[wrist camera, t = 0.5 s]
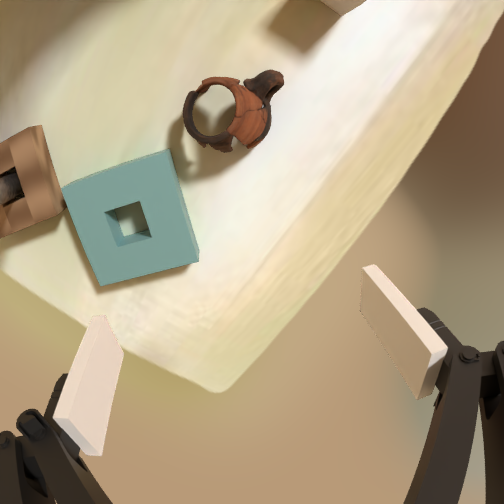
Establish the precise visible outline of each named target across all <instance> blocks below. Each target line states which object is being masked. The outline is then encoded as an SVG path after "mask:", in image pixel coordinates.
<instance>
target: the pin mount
mask: <svg viewBox="0 0 504 504" xmlns="http://www.w3.org/2000/svg"><path fill="white" fill-rule="evenodd" d="M15 167H16V170H17V174H18V177H19V180H20V183H21V186H22V189H23V192H24V195H25V196H23V197H21V198H19V199H17V200H15V197H14V198H12V199H11V200H9V201H7V202H6V203H4V204H2V205H1V206H0V238H2V237H5V236H7V235H9V234H12V233H14V232H16V231H19V230H21V229H24V228H26V227H29V226H31V225H33V224H36V223H38V222H41V221H44V220H46V219H49V218H51V217H54V216H57V215H58V214H59V213H60V212H62V211H63V210H64V209H65V208H67V206H66V203H65V200H64V197H63V194H62V191H61V188H60V186H59V183H58V179H57V176H56V173H55V170H54V167H53V164H52V160H51V157H50V154H49V150H48V147H47V143H46V139H45V136H44V132H43V128H42V125H38V126H33V127H28V128H26V129H25V130H23V131H21V132H19V133H17V134H16V135H14V136H12V137H10V138H9V139H7V140H5V141H3V142H2V143H0V178H2V177H4V176H7V172H8V171H10V170H11V169H13V168H15Z"/></svg>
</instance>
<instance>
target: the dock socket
mask: <svg viewBox="0 0 504 504" xmlns="http://www.w3.org/2000/svg"><path fill="white" fill-rule="evenodd" d="M61 190H62V193H63V196H64V198H65V201H66V204H67V207H68V210H69V212H70V215H71V218H72V220H73V223H74V225H75V228H76V231H77V233H78V236H79V238H80V241H81V243H82V245H83V248H84V250H85V253H86V255H87V257H88V260H89V262H90V264H91V266H92V269H93V271H94V273H95V275H96V278H97V280H98V282H99V284H100V286H104V285H108V284H112V283H116V282H120V281H124V280H128V279H132V278H136V277H140V276H143V275H147V274H151V273H155V272H159V271H163V270H167V269H171V268H175V267H179V266H183V265H187V264H191V263H195V262H199V247H198V244H197V241H196V238H195V234H194V231H193V228H192V225H191V221H190V218H189V215H188V211H187V208H186V204H185V201H184V198H183V194H182V191H181V187H180V184H179V180H178V177H177V173H176V170H175V166H174V162H173V159H172V155H171V152H170V149H167V150H163V151H160V152H157V153H153V154H150V155H147V156H144V157H141V158H138V159H134V160H131V161H128V162H125V163H122V164H119V165H117V166H114V167H111V168H108V169H105V170H102V171H100V172H97V173H94V174H91V175H89V176H86V177H83V178H81V179H78V180H76V181H73V182H71V183H69V184H68V185H66V186H64V187H63V188H61ZM138 201H140V203H141V206H142V209H143V212H144V215H145V218H146V221H147V224H148V227H149V230H146V231H142V232H139V233H135V234H132V235H129V236H125V237H124V236H123V233H122V231H121V228H120V225H119V223H118V220H117V217H116V214H115V211H114V209H115V208H118V207H122V206H125V205H128V204H131V203H135V202H138Z"/></svg>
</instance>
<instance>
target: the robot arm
mask: <svg viewBox="0 0 504 504" xmlns="http://www.w3.org/2000/svg"><path fill="white" fill-rule="evenodd" d="M360 312H361V313H362V315H363V316H364V318H365V319H366V320H367V322H368V324H369V325H370V327H371V328H372V330H373V331H374V333H375V334H376V336H377V338H378V339H379V341H380V342H381V344H382V345H383V347H384V348H385V350H386V351H387V353H388V355H389V356H390V358H391V359H392V361H393V362H394V364H395V366H396V367H397V369H398V370H399V372H400V374H401V375H402V377H403V378H404V380H405V382H406V383H407V385H408V387H409V388H410V390H411V391H412V393H413V395H414V396H415V398H416V400H419V399H421V398H423V397H426V396H428V395H431V394H432V392H433V389H434V387H435V385H436V387H437V388H438V390H439V394H438V396H437V399H436V401H435V403H434V406H435V409H434V413H433V417H432V421H431V425H430V428H429V432H428V435H427V439H426V442H425V446H424V449H423V452H422V455H421V458H420V461H419V464H418V467H417V470H416V473H415V475H414V478H413V481H412V483H411V486H410V489H409V491H408V494H407V496H406V499H405V501H404V504H458V501H459V497H460V494H461V490H462V487H463V483H464V479H465V475H466V471H467V467H468V463H469V458H470V453H471V448H472V443H473V438H474V432H475V426H476V419H477V412H478V404H479V406H480V413H481V421H482V430H483V441H484V455H485V474H486V475H485V476H486V504H504V341H501V342H500V343H498V345H497V347H496V349H495V351H490V352H479V351H478V350H477V349H475V348H474V347H471V346H463V345H462V344H461V343H460V342H459V341H458V340H457V338H456V337H455V336H454V335H453V334H452V333H451V332H450V330H449V329H448V328H447V327H445V325H444V324H443V322H442V321H440V319H439V318H438V317H437V316H436V315H435V314H434V313H433V312H432V311H430V310H428V309H426V308H421V309H417V310H416V309H415V308H414V307H413V306H412V304H411V303H410V302H409V301H408V300H407V299H406V298H405V297H404V295H403V294H402V293H401V292H400V291H399V290H398V289H397V288H396V286H395V285H394V284H393V283H392V282H391V281H390V280H389V279H388V278H387V277H386V276H385V274H383V272H382V271H381V270H380V269H379V268H378V267H377V266H376V265H370V266H366V267H362V278H361V302H360ZM123 356H124V353H123V351H122V349H121V347H120V345H119V343H118V341H117V339H116V337H115V335H114V333H113V330H112V328H111V326H110V324H109V322H108V320H107V317H106V315H99V316H93V317H92V319H91V321H90V323H89V326H88V328H87V330H86V332H85V335H84V337H83V339H82V342H81V344H80V347H79V349H78V351H77V354H76V356H75V359H74V361H73V364H72V366H71V369H70V371H69V373H68V374H63V375H62V376H61V377H60V378H59V379H58V381H57V382H56V385H55V387H54V392H52V395H51V398H50V400H49V403H48V406H47V409H46V412H45V414H44V417H43V416H42V415H41V414H40V413H39V412H38V410H36V409H28V410H26V411H24V412H23V413H22V414H21V415H20V416H19V417H18V419H17V422H16V427H17V429H18V430H19V431H20V432H21V433H22V434H23V436H19V437H15V435H13V433H12V432H10V431H3V432H1V433H0V504H56V502H57V504H113V503H112V502H111V501H110V499H109V498H108V497H107V495H106V494H105V493H104V491H103V490H102V488H101V487H100V485H99V484H98V482H97V481H96V480H95V478H94V477H93V475H92V473H91V472H90V470H89V469H88V467H87V466H86V464H85V463H84V461H83V460H82V458H81V457H80V456H79V451H80V449H81V450H82V451H83V452H84V453H85V454H86V455H91V456H102V452H103V446H104V441H105V436H106V430H107V425H108V421H109V416H110V411H111V406H112V402H113V398H114V393H115V389H116V384H117V380H118V377H119V372H120V368H121V364H122V360H123ZM54 498H55V499H54ZM55 500H56V502H55Z"/></svg>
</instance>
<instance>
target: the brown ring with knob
mask: <svg viewBox="0 0 504 504" xmlns="http://www.w3.org/2000/svg"><path fill="white" fill-rule="evenodd" d="M239 83H240V80H238V79H234V78H229V77H210V78H207V79H205V80H203V81H202V85H200V86H199V87H198V89H197V90H196V91H190V92H189V93H188V95H187V97H186V100H185V103H184V107H183V118H184V124H185V127H186V129H187V131H188V133H189V134H190V135H191V136H192V137H193V138H194V139H196V140H197V142H198V143H199V144H200V145H201V146H203V147H204V148H205V147H206V144H209V145H210V146H211V147H213V148H214V149H216V150H220V151H221V152H224V153H225V152H231V151H232V150H233V149H232V147H231V143H232V139H233V136H235V137H236V138H237V139H238V140H239V141H240V142H241V143H242V144H243V145H245V144H248V145H247V146H246V147H247V148H248V149H250V148H252V147H254V146H256V145H257V144H258V143H260V142H261V141H262V140H263V139H264V138H265V136H266V135H267V134H268V132H269V129H270V126H271V105H270V100H271V98H272V96H273V95H274V94H275V93H276V92H277V91H278V90H279V89H280V88H281V87H282V86H283V85H284V79H283V75H282V74H281V73H280V72H278V71H274V70H267V71H264V72H262V73H260V74H259V75H257V76H256V77H255V78H252V79H246V80H244V82H243V83H244V86H245V87H244V86H241V85H239ZM212 85H223V86H225V87H227V88H228V89H230V91H231V92H232V93H233V96H234V98H235V102H236V112H235V117H234V119H233V121H232V123H231V124H230V126H229V127H228V128H227V129H226V131H224V132H223V133H221V134H219V135H216V136H205V135H203V134H201V133H200V132H199V131H198V130H197V129H196V127H195V125H194V122H193V117H192V111H193V105H194V102H195V100H196V98H197V97H198V95H199V94H200V93H203V92H206V91H207V90H208V89H209V87H210V86H212ZM262 105H264V107H263V108H262ZM254 140H255V141H254Z"/></svg>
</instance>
